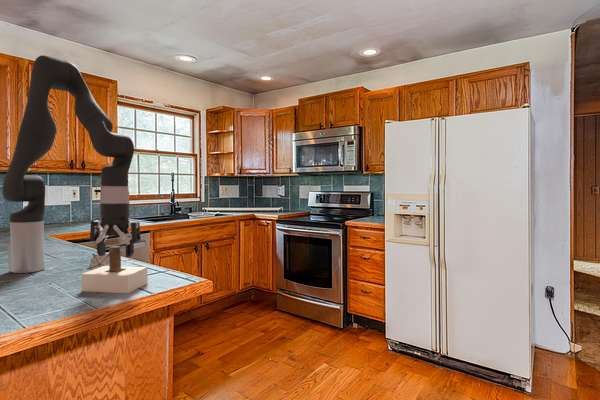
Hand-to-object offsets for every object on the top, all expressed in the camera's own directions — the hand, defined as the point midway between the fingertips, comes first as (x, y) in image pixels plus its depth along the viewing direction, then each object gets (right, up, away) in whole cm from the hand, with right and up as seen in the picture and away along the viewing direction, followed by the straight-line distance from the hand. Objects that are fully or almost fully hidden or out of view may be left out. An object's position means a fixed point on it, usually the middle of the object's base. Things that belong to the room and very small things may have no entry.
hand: (115, 256), depth 102 cm
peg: (0, -9, 0) cm, 9 cm away
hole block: (0, -9, 0) cm, 9 cm away
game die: (-11, -9, +12) cm, 19 cm away
